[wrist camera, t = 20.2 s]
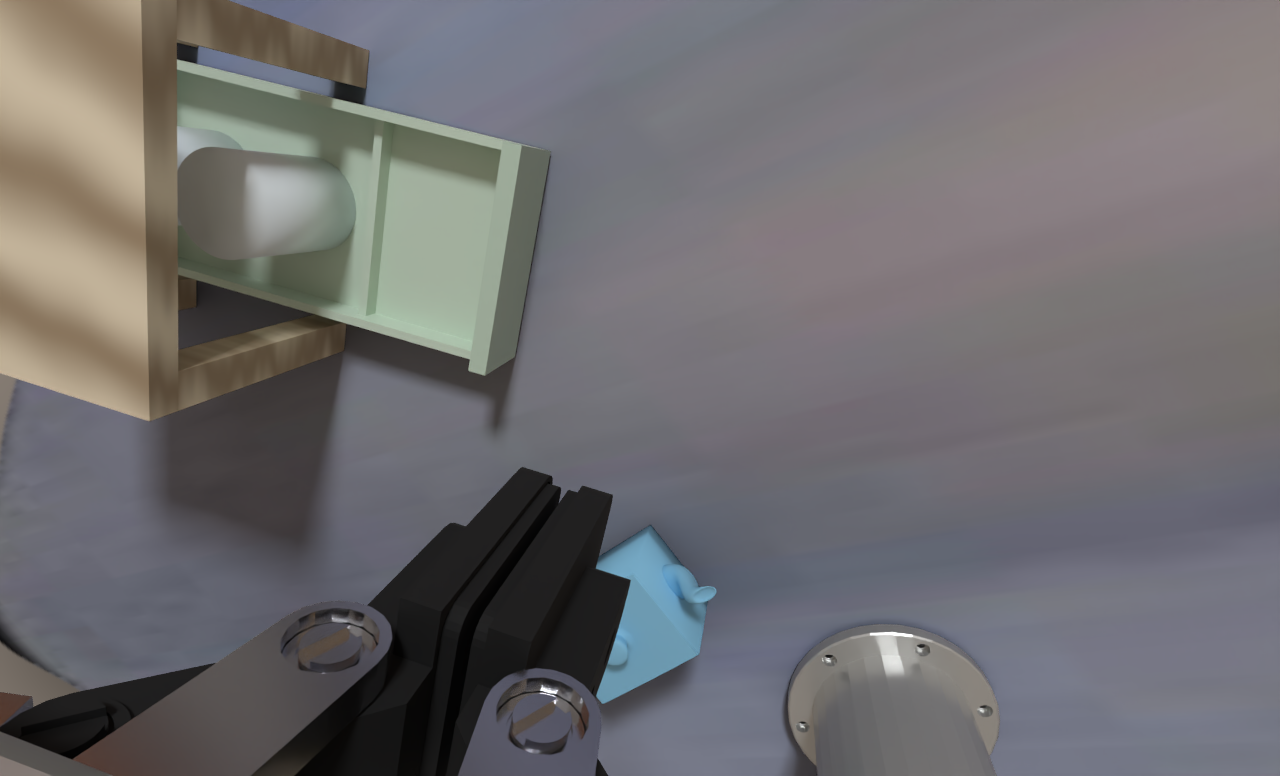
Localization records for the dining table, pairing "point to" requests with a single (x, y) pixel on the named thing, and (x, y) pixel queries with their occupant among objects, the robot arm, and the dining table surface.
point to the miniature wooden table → (124, 200)
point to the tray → (386, 217)
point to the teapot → (652, 613)
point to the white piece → (262, 203)
